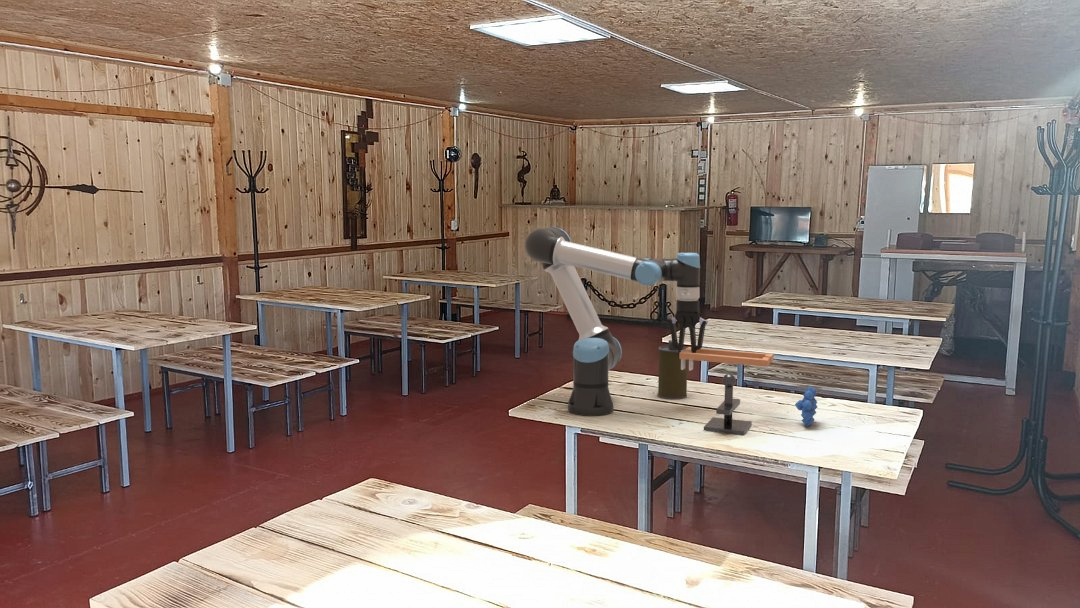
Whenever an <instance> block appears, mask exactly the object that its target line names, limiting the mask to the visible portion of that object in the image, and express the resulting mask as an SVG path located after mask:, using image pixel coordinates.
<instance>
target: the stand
mask: <svg viewBox="0 0 1080 608" xmlns="http://www.w3.org/2000/svg"><path fill="white" fill-rule="evenodd" d="M721 380H722V384H723V386H724V400H723V401H722V403H721V404H719V406H717V408H716V412H715V413H716V415H723V417H715V416H713V417H711V418H710V420H708V422H707V423H706V424H705V425H703V431H704V430H706V431H707V432H714V433H721V434H729V435H737V434H738V435H740V436H745V434H747V430H748V431H749V429H750V427H752V423H753V421H751V420H743V419H733V413H734V411H735V410H736V409H737V408H738V406H739V405H741V399H740V398H734V397H733V396H734V386H735V385H736V383H737V379H736V376H735V375H733V374H732V373H726V374H724V375H723V377H722V379H721ZM706 431H705V432H706ZM738 435H737V436H738Z"/></svg>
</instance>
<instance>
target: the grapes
mask: <svg viewBox="0 0 1080 608" xmlns="http://www.w3.org/2000/svg"><path fill="white" fill-rule="evenodd" d="M804 391H805V392H804V393H803V394H802V396H803V398H802V399H799V400H798V401H796V403H795V404H794V405H795V408H796V409H797V410H798V411H801V414H800V416H801V417H802V419H801V422H802V423H803V425H804V426H806V427H809V426H811V425H812V424H813V423H814V422H815V418H814V416H815V415H816V414H817V411H816V409H818V405H817V404H818V401H817V399H816V398H815V397H817V395H818V393H817V391H816V389H815V387H814V386H812V385H809V386H807V388H805V390H804Z"/></svg>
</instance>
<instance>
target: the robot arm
mask: <svg viewBox="0 0 1080 608" xmlns="http://www.w3.org/2000/svg"><path fill="white" fill-rule="evenodd" d="M524 250H525V253H526V255H527V256H528V257H529V258H530V259H531V260H532V261H533V262H538V263H540V264H541V267H542V268H543V271H544V272H547V273H549V274H550V276H551V277H552V280H553V282H554V284H555V286H556V288H557V290H558V292H559V295H560V297H561V299H562V301H563V303H564V305H565V307H566V309H567V312H568V314H569V316H570V318H571V320H572V322H573V324H574V326H575V329H576V331H577V332H578V334H579V335H578V336H579V337H578V340H576V342H575V343H574V345H573V348H572V349H573V350H572V357H573V359H572V360H573V361H572V364H573V365H572V367H573V370H572V371H573V372H572V373H573V375H572V377H573V382H572V383H573V384H572V385H573V386H572V390H571V393H570V395H569V399H568V403H567V411H568V412H569V413H572V414H575V415H579V416H587V415H596V416H605V415H609V414H611V413H613V412H614V401H613V398H612V396H611V392H610V390H609V389H610V388H609V371H610V370H613V369H614V368H615V367H617V365H618V364H619V363H620V360H621V358H622V354H623V351H622V346H621V343H620V341H619V340H618V339H617V338H616V337H614V336H613V335H612V333H611V331H610V328H609V327H607V326H605V325H603V324H602V322H601V320H600V318H599V315H598V313H597V311H596V309H595V307H594V305H593V303H592V301H591V298H590V297H589V295H588V292H587V290H586V288H585V287H584V284H583V281H582V279H581V278H580V276H579V274H578V271H577V269H576V268H579V269H584V270H588V271H592V272H595V273H600V274H604V275H609V276H613V277H617V278H622V279H625V280H630V281H634V282H636V283H637V282H638V283H639V284H641V285H643V286H649V287H650V286H654V285H655V284H657V283H660V282H676V299H677V300H676V302H675V303H676V305H675V311H676V312H675V314H674V316H673V317H672V318H671V317H669V318H668V319H667V323H668V325H669V329H670V335H671V336H670V337H671V340H672V345H673V348H676V349H678V359H679V353H680V352H682V351H683V350H685V349H683V348H684V347H685V346H684V345H685V344H684V343H685V337H686V336H685V335H686V329H687V328H688V330H689V337H690V347H691V350H690V351H689V353H696V351H697V350H699V349H701V348H703V343H704V337H705V333H706V331H705V330H706V327H707V325H708V322H709V321H708V320H707V319H704V318H702V317H701V314H700V300H699V299H700V294H701V293H700V285H701V283H700V282H701V263H700V261H701V260H700V254H699V253H697V252H678V253H677V254H676V257H675V258H654V257H650V258H649V257H648V258H641V257H637V256H632V255H628V254H623V253H620V252H619V253H618V252H615V251H610V250H606V249H602V248H597V247H593V246H588V245H583V244H582V243H581V244H580V243H575V242H572V240H571V238H570V236H569V234H568V233H567V232H566V231H565V230H563V229H561V228H559V227H556V226H548V227H540V228H536V229H535V228H534V229H533V230H531V231H530V232H529V233H528V235H527V236H526V238H525V241H524ZM676 323H678V325H679V334H678V333H677V326H676ZM698 323H699V330H698V331H699V332H698V337H696V336H697V335H696V326H697V324H698ZM684 369H685V359H681V370H684ZM693 369H694V360H688V371H692V370H693Z"/></svg>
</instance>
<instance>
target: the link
mask: <svg viewBox="0 0 1080 608" xmlns="http://www.w3.org/2000/svg"><path fill="white" fill-rule="evenodd" d="M690 350H691V346H687V347H686V349H685V350H683V351H682V352H680V353H679V359H687V361H689V360H693V361H699V362H700V361H701V362H709V363H711V362H712V363H721V364H730V365H731V364H733V365H744V366H755V367H756V366H757V367H765V368H767V367H768V366H769V365H770V364H771V363H772V362H773V361H774V356H775V355H774V353H767V352H766V353H765V352H755V351H743V350H732V349H731V350H729V349H719V348H718V349H717V348H709V347H708V348H707V347H702V348H701V349H699V350H697V351H696V353H689V351H690Z"/></svg>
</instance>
